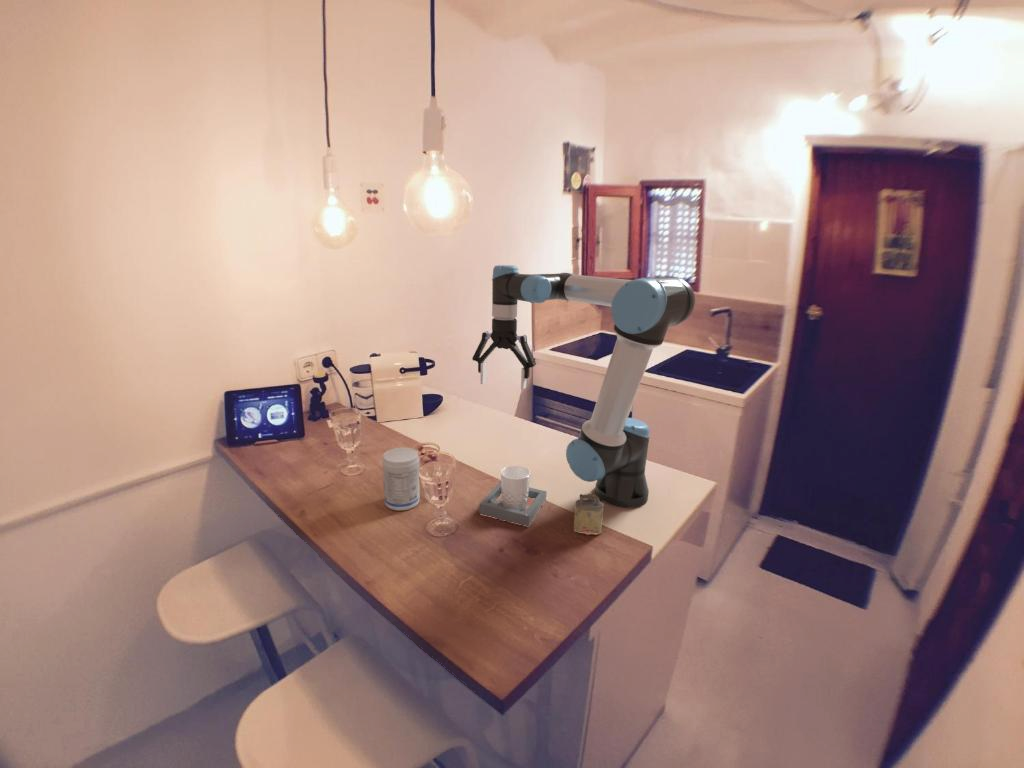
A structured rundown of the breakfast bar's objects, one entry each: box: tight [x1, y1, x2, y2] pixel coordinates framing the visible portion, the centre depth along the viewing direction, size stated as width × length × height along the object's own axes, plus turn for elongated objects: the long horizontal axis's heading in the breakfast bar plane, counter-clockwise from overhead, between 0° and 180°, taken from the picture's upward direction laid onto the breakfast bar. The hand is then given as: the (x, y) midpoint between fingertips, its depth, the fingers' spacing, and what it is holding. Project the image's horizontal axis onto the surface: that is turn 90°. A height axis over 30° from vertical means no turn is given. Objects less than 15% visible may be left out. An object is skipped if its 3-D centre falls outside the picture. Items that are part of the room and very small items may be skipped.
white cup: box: [500, 464, 531, 510], centre depth 134 cm, size 8×8×10 cm
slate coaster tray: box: [478, 480, 547, 527], centre depth 135 cm, size 14×14×4 cm
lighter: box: [573, 493, 604, 533], centre depth 124 cm, size 7×4×10 cm, turn 85°
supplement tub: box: [382, 447, 421, 512], centre depth 134 cm, size 10×10×15 cm
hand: (503, 385), depth 155 cm, fingers open, 13 cm apart
